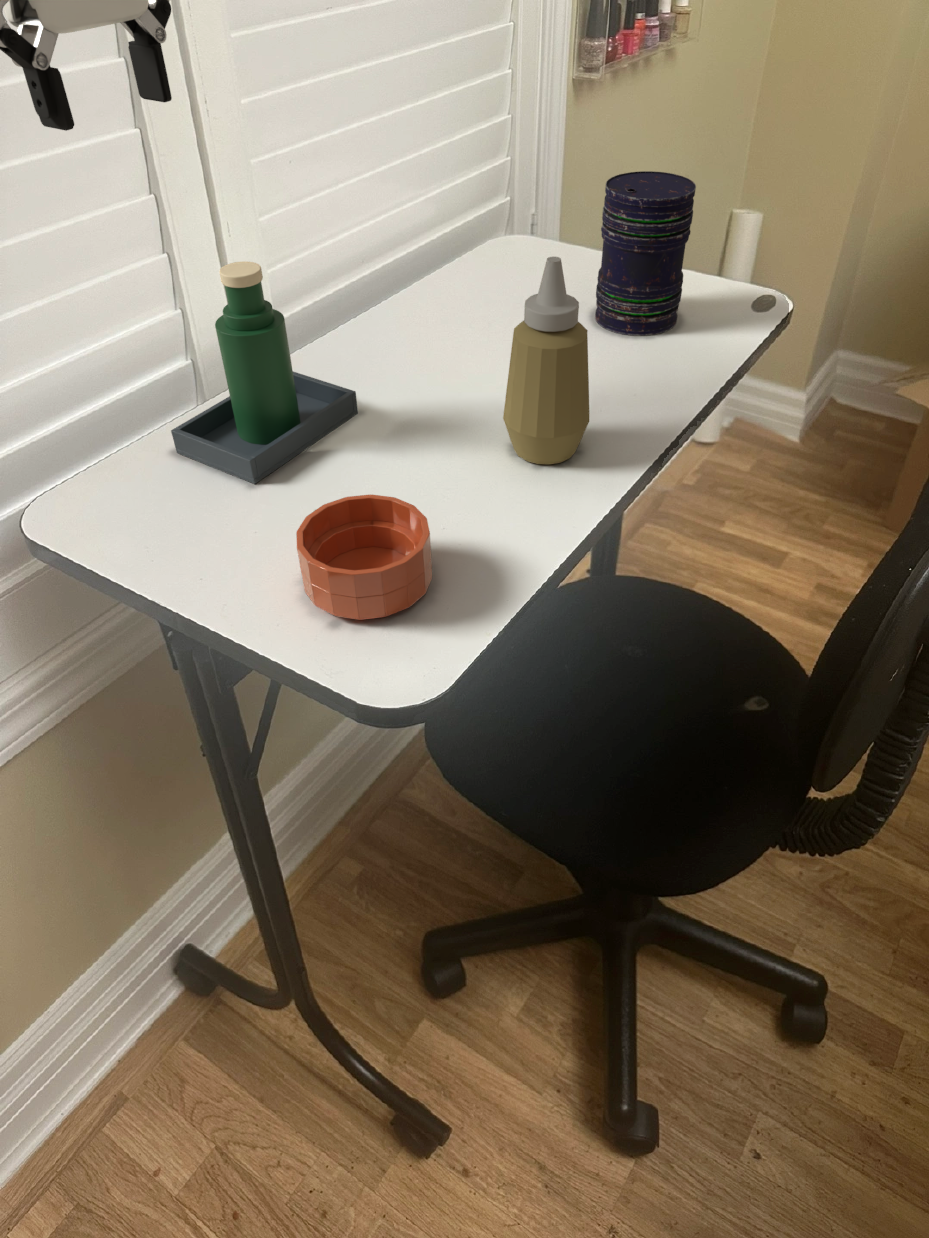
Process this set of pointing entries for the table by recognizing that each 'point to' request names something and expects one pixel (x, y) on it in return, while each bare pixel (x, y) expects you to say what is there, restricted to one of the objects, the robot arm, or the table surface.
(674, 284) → the oil drum
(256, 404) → the bottle
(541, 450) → the squeeze bottle
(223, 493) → the table surface
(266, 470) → the tray
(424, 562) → the bowl
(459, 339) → the table surface
